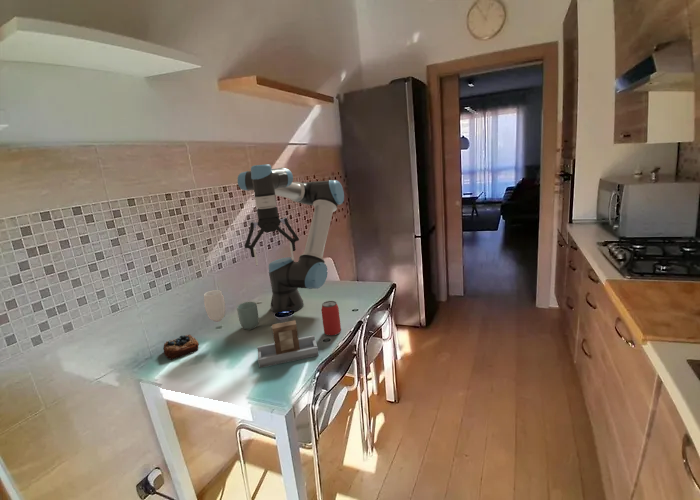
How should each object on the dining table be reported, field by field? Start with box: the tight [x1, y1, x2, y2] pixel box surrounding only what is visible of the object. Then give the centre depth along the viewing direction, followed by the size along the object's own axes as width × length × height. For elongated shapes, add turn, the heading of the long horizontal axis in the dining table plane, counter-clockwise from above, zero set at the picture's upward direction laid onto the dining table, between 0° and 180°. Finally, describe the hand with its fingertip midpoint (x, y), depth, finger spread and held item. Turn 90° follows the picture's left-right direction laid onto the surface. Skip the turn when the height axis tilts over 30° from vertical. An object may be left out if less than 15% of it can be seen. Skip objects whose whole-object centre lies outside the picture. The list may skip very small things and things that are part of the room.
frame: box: [271, 319, 300, 355], centre depth 127 cm, size 8×4×11 cm, turn 104°
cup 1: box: [203, 289, 226, 323], centre depth 142 cm, size 7×7×21 cm
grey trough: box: [256, 334, 320, 369], centre depth 128 cm, size 20×7×5 cm, turn 104°
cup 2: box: [236, 301, 260, 330], centre depth 154 cm, size 8×8×10 cm
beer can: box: [321, 300, 342, 337], centre depth 142 cm, size 7×7×12 cm
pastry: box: [163, 334, 200, 361], centre depth 140 cm, size 11×12×6 cm
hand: (275, 262), depth 142 cm, fingers open, 13 cm apart
